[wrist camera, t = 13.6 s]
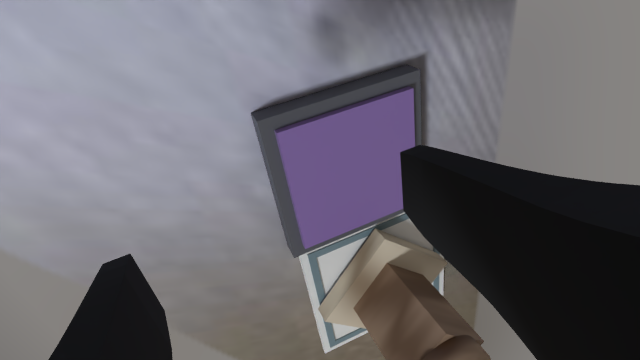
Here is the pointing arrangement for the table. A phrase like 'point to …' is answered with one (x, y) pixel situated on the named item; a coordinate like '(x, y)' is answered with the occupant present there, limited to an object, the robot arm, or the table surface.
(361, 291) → the stamp
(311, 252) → the form card
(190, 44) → the table surface
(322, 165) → the ink pad
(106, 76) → the table surface
